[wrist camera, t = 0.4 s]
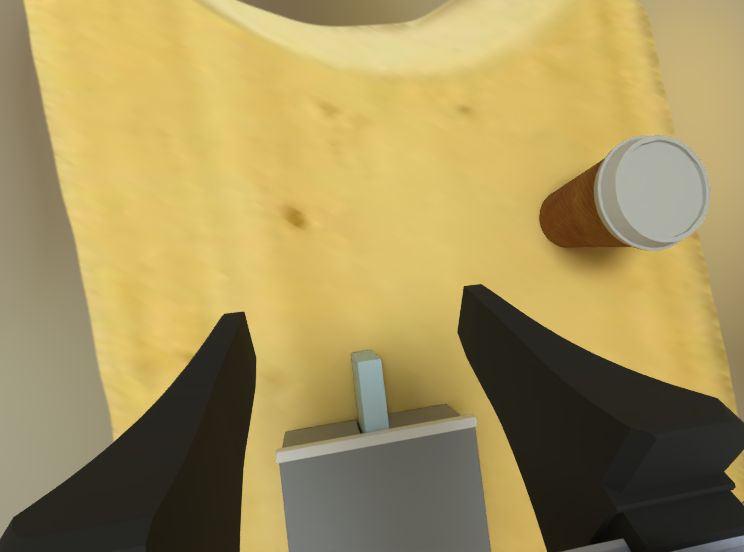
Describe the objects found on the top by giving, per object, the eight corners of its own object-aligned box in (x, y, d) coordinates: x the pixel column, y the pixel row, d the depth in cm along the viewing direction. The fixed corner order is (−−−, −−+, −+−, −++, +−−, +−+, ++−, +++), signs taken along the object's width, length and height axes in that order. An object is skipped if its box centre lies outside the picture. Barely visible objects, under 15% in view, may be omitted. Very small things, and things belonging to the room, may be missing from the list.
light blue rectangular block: (388, 494, 38) (401, 527, 32) (368, 498, 37) (377, 533, 32) (371, 349, 38) (380, 358, 33) (350, 352, 38) (357, 362, 32)
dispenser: (462, 514, 39) (494, 560, 32) (296, 550, 36) (292, 610, 30) (447, 395, 39) (476, 416, 32) (282, 423, 37) (275, 453, 30)
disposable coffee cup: (544, 160, 42) (634, 108, 31) (616, 199, 44) (730, 163, 32) (512, 238, 41) (592, 215, 30) (587, 276, 43) (693, 268, 31)
